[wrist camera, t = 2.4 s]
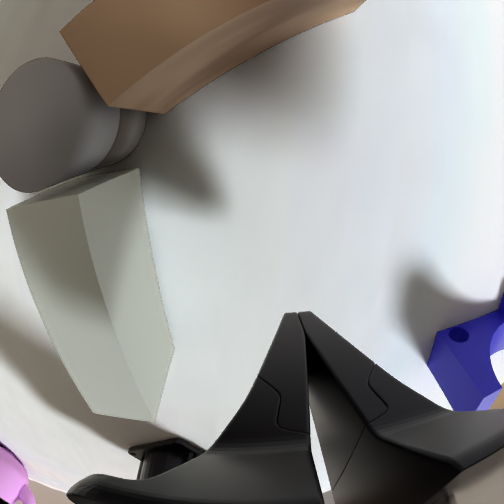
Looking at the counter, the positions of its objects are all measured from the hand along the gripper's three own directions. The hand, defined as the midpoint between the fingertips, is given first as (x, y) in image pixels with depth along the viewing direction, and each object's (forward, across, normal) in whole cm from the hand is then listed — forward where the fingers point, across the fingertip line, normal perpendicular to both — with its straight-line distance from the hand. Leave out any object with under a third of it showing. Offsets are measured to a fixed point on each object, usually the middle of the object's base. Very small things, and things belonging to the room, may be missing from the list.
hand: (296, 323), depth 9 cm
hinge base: (+4, +3, -9) cm, 11 cm away
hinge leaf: (+4, +7, -2) cm, 8 cm away
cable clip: (+4, -16, +5) cm, 17 cm away
